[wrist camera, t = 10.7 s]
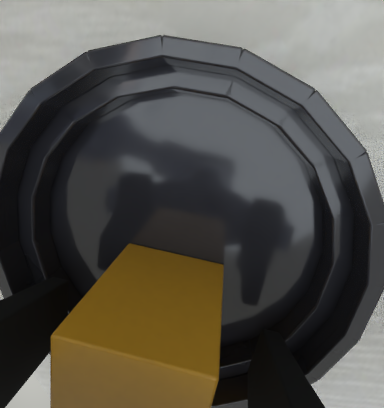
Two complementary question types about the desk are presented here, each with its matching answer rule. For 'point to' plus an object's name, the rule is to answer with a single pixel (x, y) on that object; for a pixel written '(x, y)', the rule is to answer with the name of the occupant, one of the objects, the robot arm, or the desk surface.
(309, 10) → the desk surface
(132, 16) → the desk surface
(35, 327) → the robot arm
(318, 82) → the desk surface
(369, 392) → the desk surface
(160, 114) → the pan
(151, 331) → the mustard block
